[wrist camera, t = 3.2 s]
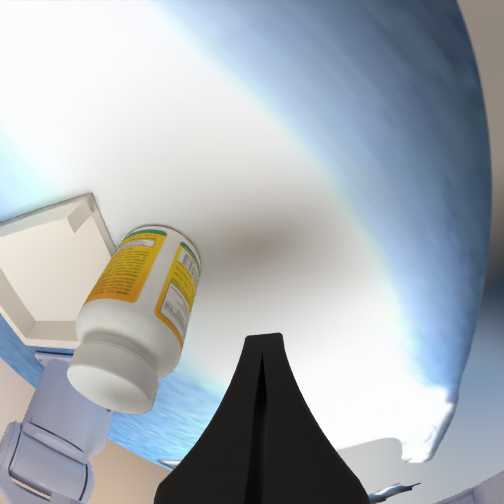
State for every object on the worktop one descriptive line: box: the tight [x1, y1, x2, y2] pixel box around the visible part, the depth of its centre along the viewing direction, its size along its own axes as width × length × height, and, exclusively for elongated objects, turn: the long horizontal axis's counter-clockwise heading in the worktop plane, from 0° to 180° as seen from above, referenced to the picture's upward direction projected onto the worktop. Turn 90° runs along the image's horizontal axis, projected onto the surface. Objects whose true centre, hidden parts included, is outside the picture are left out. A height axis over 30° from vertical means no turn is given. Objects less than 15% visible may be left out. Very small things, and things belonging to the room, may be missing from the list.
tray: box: [0, 193, 116, 349], centre depth 18 cm, size 11×13×3 cm
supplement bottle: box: [67, 226, 201, 414], centre depth 15 cm, size 5×5×10 cm
